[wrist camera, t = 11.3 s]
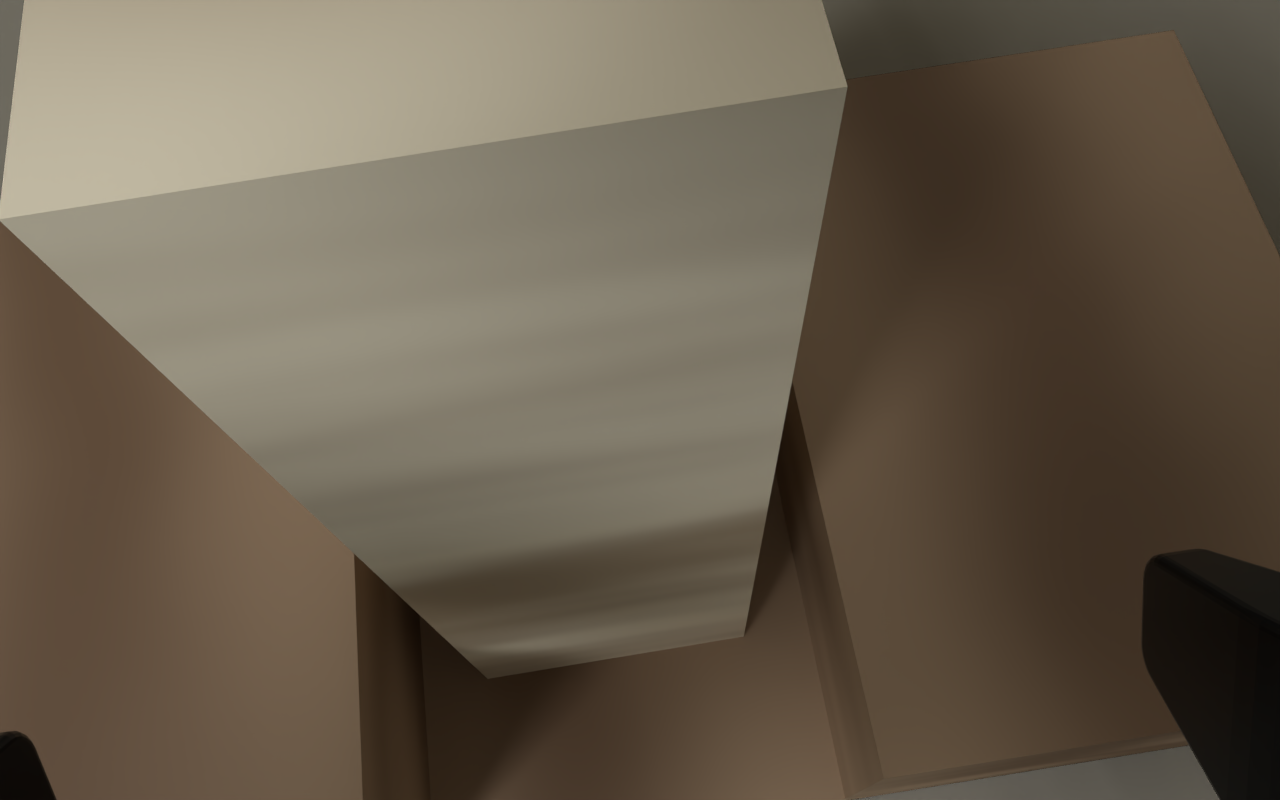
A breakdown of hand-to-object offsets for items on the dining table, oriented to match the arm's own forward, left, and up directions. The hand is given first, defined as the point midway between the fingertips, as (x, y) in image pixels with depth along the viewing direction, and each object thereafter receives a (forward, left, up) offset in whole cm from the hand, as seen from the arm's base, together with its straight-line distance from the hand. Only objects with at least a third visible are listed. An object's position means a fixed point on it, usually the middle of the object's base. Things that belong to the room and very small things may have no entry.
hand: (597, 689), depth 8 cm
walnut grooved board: (+3, +3, -8) cm, 9 cm away
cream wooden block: (+3, +3, -8) cm, 9 cm away
